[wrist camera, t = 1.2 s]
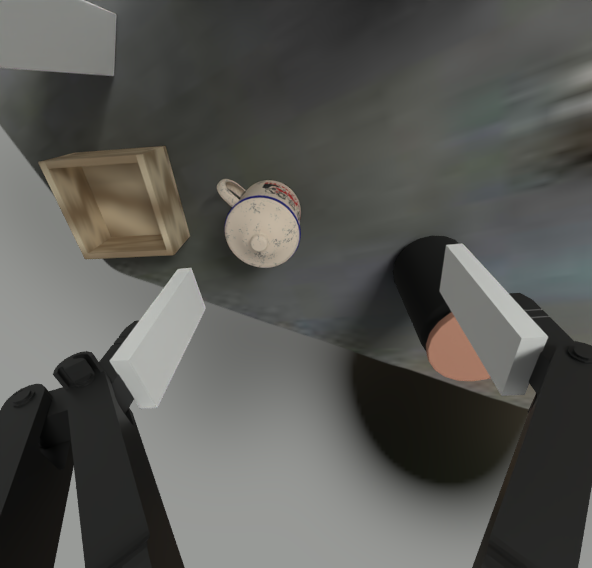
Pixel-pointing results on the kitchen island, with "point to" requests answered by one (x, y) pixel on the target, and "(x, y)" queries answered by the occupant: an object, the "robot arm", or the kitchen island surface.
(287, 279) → the kitchen island surface
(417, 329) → the coffee jar
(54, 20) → the milk
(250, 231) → the teacup with lid
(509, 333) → the robot arm
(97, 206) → the holder
